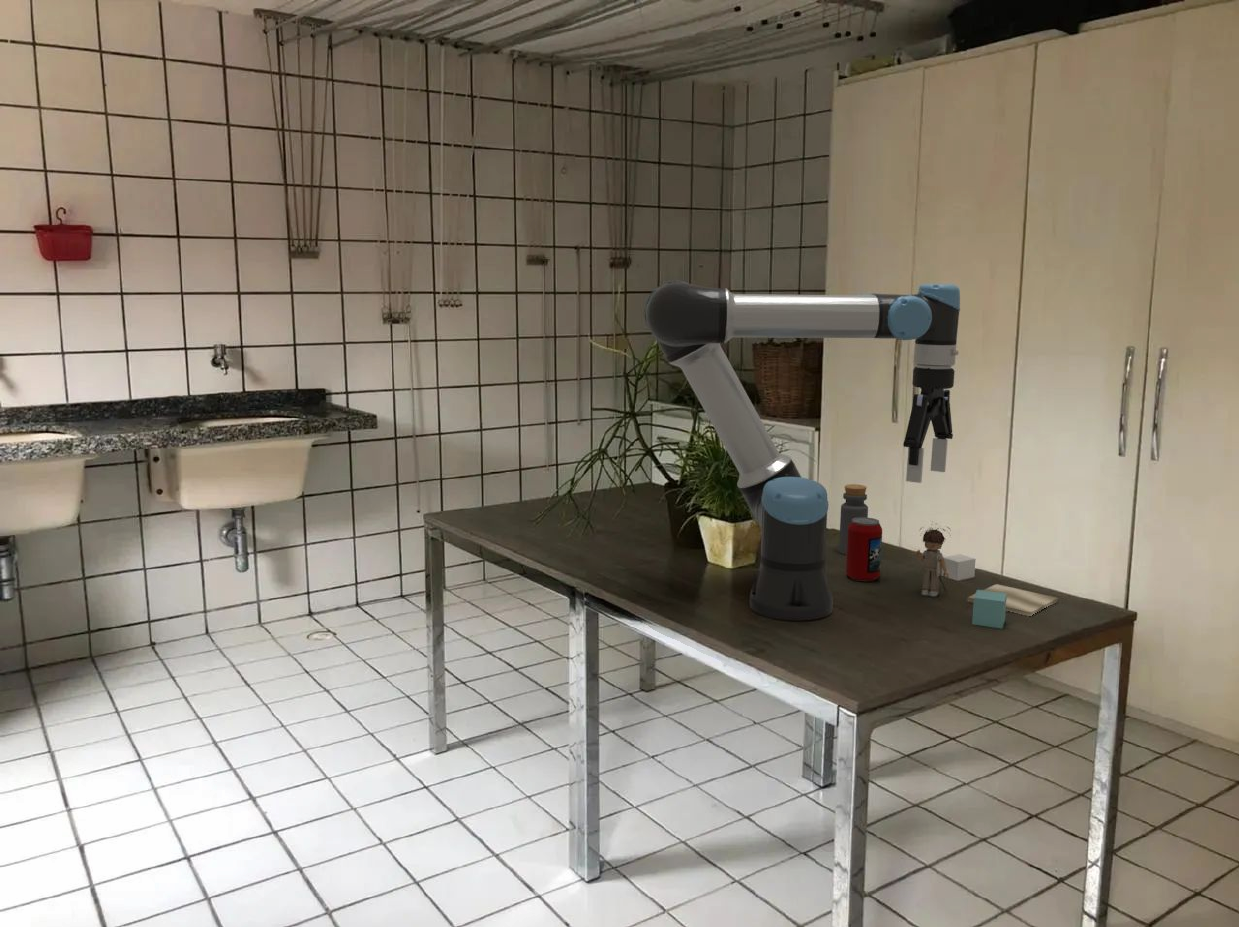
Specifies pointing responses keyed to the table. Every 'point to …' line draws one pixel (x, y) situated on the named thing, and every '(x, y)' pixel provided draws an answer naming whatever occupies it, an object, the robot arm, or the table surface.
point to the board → (1021, 600)
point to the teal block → (989, 609)
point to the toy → (932, 561)
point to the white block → (959, 567)
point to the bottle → (851, 511)
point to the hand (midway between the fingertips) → (926, 476)
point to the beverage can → (864, 549)
